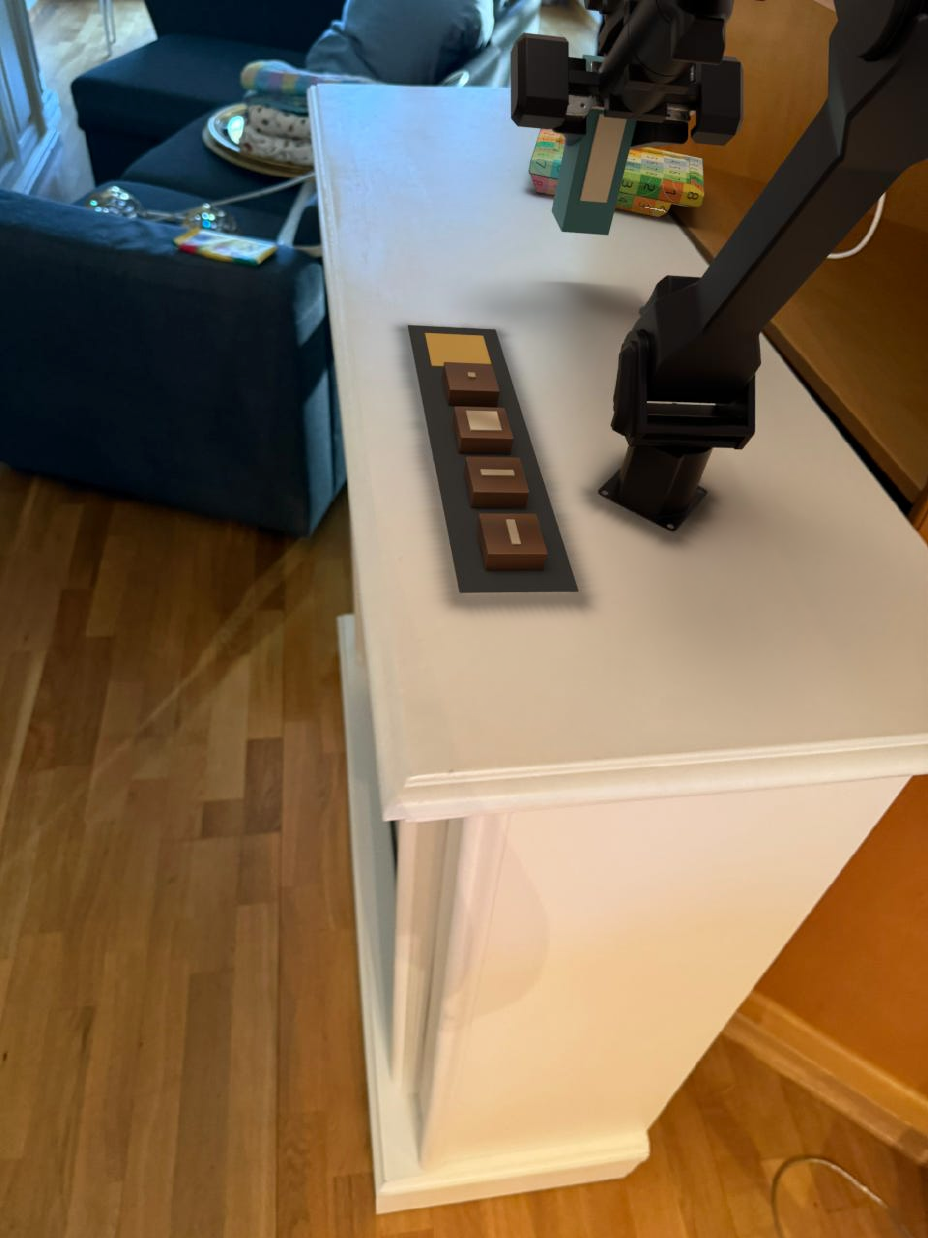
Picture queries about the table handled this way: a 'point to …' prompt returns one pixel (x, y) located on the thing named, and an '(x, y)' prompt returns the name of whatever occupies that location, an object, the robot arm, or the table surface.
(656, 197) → the puzzle game
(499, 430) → the tile
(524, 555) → the tile
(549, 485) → the table surface
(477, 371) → the tile
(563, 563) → the word mat
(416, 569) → the table surface
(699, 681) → the table surface
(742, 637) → the table surface
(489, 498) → the tile
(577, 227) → the teal tall rectangular block
